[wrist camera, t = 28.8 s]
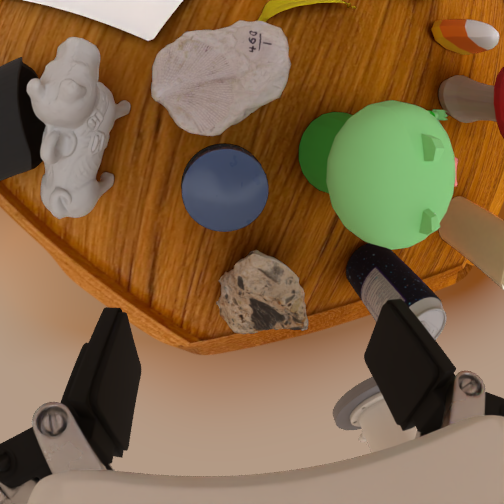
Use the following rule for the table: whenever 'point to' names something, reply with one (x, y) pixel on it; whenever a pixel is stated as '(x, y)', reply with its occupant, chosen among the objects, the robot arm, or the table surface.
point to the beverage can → (393, 286)
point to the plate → (122, 13)
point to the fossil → (220, 75)
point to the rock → (262, 296)
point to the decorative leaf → (290, 6)
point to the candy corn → (465, 35)
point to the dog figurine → (74, 128)
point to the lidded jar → (475, 236)
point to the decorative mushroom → (473, 99)
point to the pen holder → (18, 121)
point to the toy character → (383, 170)
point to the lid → (224, 188)
